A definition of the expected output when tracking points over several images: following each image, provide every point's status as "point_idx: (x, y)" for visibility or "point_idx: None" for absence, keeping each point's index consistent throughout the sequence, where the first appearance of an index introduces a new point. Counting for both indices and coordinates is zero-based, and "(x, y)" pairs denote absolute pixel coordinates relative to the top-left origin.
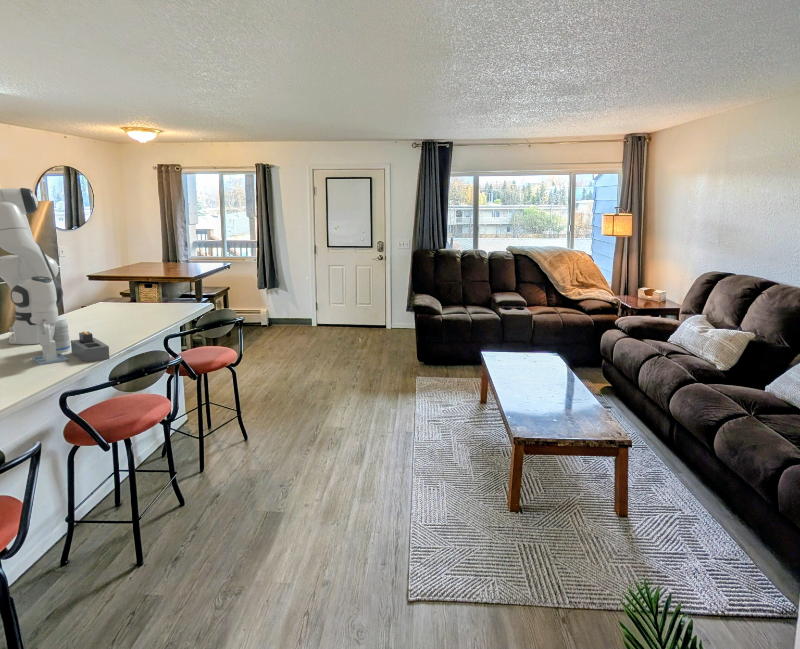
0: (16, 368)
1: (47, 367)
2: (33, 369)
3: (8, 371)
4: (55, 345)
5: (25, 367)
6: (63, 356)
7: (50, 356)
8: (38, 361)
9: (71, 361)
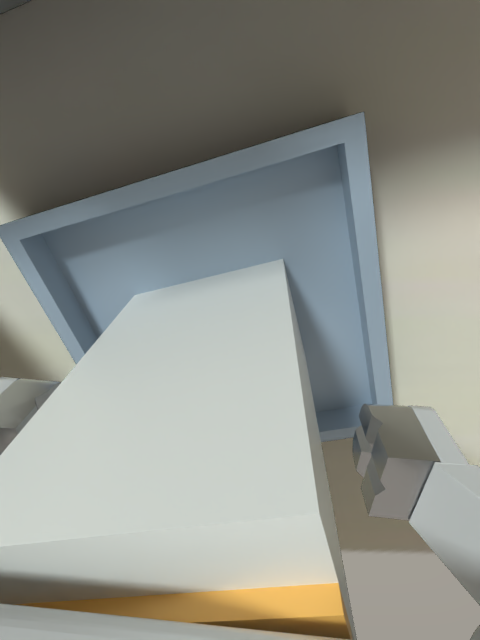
0: (352, 515)
1: (472, 341)
2: (464, 436)
3: (409, 545)
4: (302, 405)
5: (355, 476)
6: (198, 183)
7: (302, 355)
8: (341, 432)
9: (331, 60)
